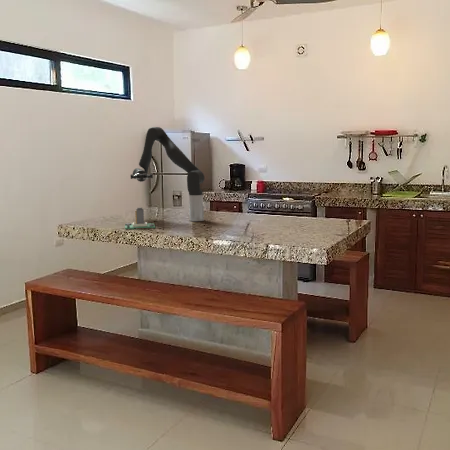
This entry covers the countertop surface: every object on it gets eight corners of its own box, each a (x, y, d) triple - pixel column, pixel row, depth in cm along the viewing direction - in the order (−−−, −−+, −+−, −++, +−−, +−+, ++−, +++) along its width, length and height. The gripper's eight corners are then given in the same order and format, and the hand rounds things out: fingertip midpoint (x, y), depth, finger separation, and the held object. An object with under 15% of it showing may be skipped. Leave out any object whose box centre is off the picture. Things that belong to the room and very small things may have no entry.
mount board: (153, 225, 323) (153, 220, 322) (155, 228, 309) (155, 223, 308) (125, 226, 319) (124, 221, 319) (125, 229, 306) (124, 224, 305)
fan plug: (144, 224, 316) (143, 207, 315) (144, 225, 312) (143, 208, 311) (135, 225, 316) (135, 207, 314) (135, 226, 311) (135, 208, 310)
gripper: (130, 170, 339) (130, 171, 324) (151, 169, 342) (152, 170, 326) (130, 181, 341) (130, 183, 325) (152, 180, 343) (153, 182, 328)
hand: (141, 177), depth 326 cm, fingers open, 8 cm apart
